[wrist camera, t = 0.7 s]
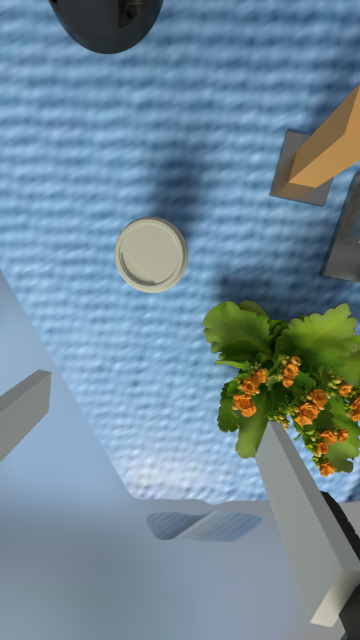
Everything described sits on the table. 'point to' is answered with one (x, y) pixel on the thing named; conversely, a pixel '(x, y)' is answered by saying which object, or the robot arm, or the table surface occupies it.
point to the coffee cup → (151, 254)
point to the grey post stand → (346, 240)
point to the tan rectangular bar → (330, 145)
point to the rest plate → (283, 172)
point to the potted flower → (290, 379)
